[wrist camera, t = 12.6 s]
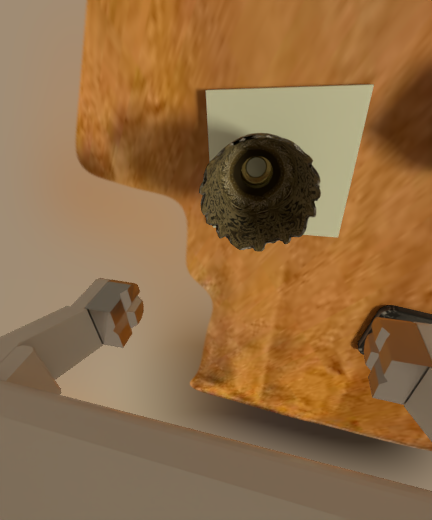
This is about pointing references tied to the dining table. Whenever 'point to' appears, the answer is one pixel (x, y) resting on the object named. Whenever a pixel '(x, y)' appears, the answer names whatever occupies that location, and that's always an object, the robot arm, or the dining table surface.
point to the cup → (260, 192)
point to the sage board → (299, 134)
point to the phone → (396, 314)
